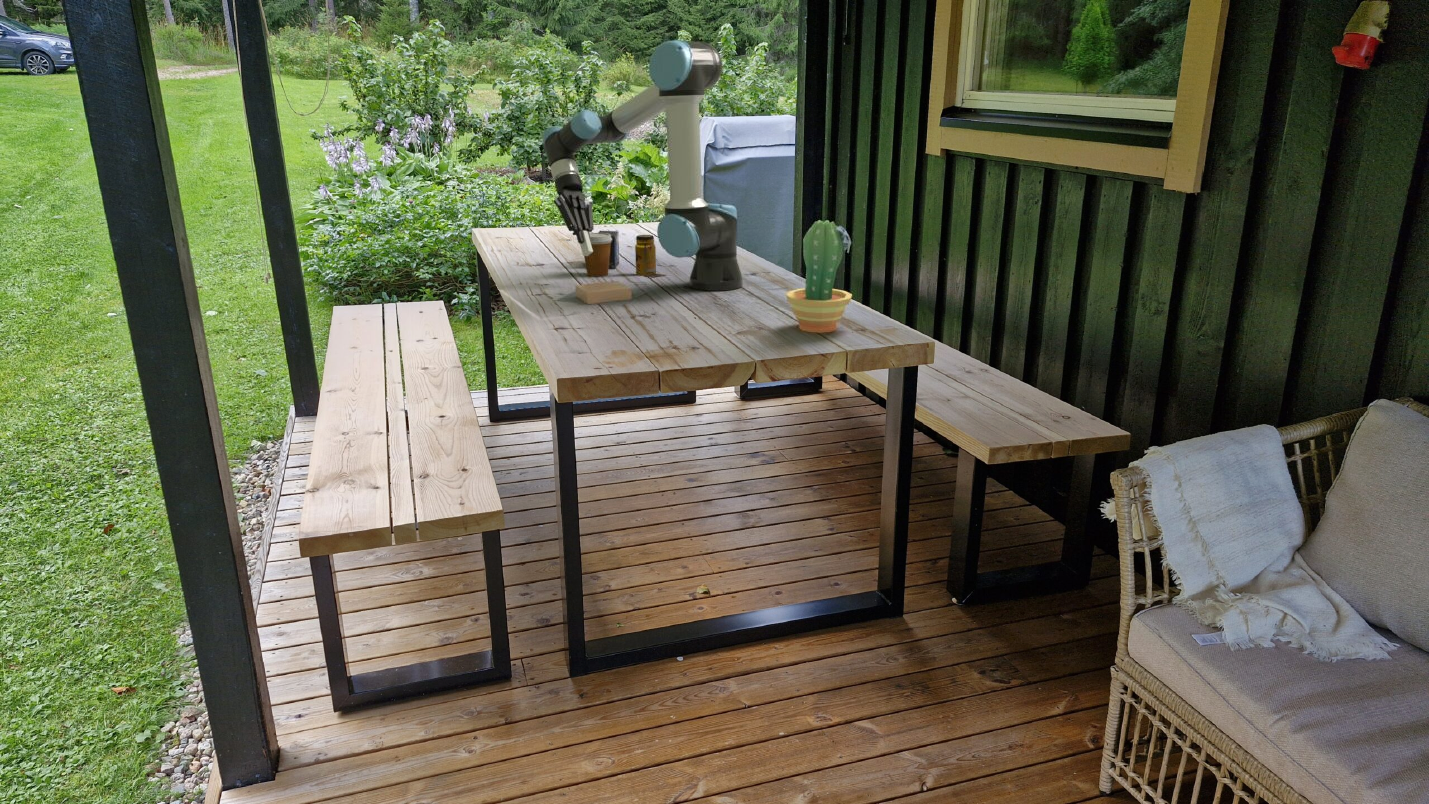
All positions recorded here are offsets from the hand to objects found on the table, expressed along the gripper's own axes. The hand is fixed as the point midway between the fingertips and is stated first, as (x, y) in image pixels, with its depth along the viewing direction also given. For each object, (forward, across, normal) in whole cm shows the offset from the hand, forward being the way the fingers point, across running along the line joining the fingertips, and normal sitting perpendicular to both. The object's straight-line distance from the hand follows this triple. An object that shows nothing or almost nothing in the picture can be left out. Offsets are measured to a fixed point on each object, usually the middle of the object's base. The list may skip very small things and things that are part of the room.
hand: (588, 253), depth 257 cm
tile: (+13, +4, +4) cm, 14 cm away
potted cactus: (+48, -9, +58) cm, 76 cm away
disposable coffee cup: (-2, -16, -14) cm, 21 cm away
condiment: (+3, -25, -3) cm, 26 cm away
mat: (+16, +4, +5) cm, 17 cm away
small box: (-8, -27, -20) cm, 35 cm away
